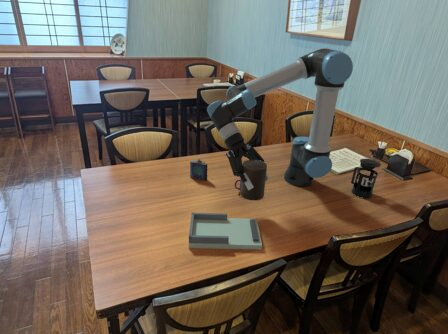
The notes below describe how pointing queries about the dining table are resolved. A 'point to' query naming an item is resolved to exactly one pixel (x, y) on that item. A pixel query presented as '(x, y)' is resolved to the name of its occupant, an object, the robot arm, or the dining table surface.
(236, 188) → the mug
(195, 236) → the deck plate
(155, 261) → the dining table surface
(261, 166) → the pillar candle
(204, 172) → the flask
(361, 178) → the french press
